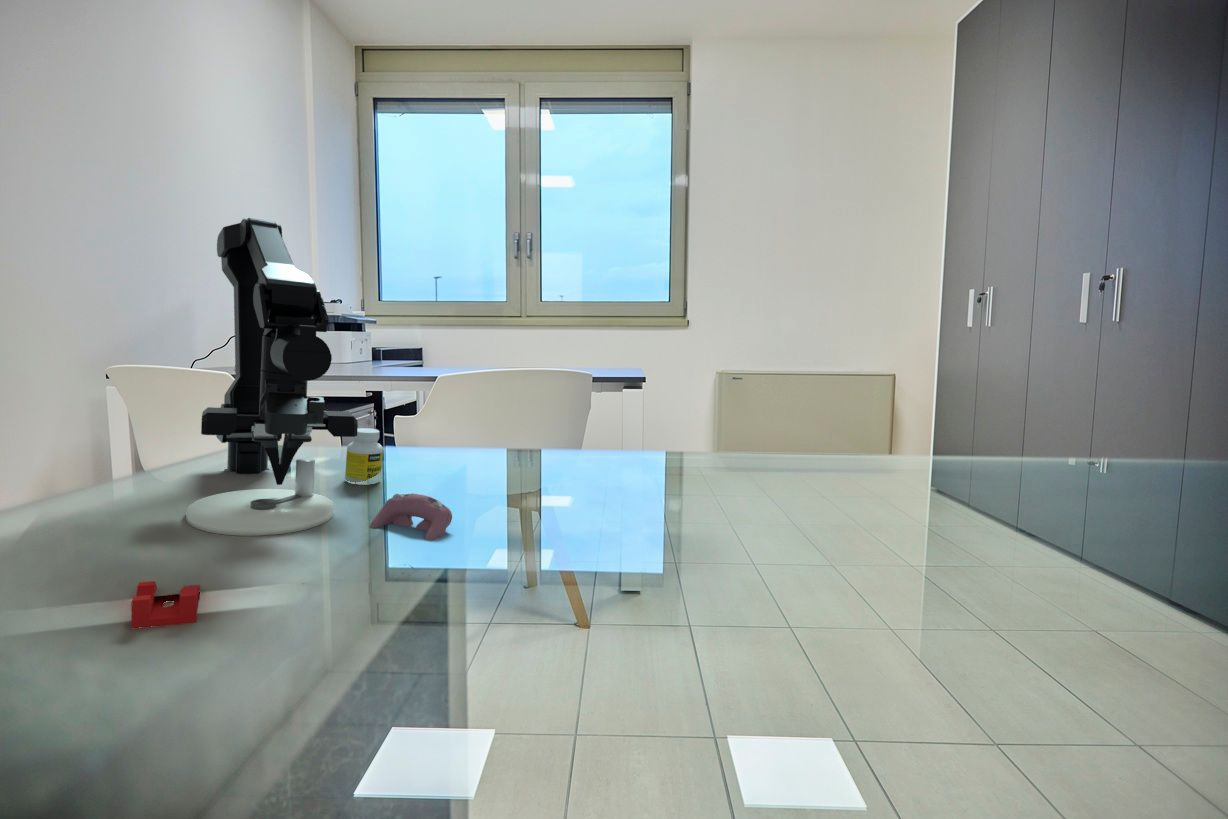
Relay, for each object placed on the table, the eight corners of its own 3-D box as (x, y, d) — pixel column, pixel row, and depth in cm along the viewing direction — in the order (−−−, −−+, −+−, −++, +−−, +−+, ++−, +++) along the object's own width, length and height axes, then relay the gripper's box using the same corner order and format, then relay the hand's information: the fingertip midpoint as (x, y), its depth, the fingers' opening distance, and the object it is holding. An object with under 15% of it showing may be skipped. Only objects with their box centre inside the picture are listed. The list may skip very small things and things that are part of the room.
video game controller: (445, 556, 88) (461, 504, 90) (428, 550, 84) (445, 496, 86) (381, 541, 91) (398, 491, 93) (362, 535, 87) (380, 483, 89)
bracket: (195, 626, 62) (196, 594, 61) (131, 633, 59) (131, 600, 59) (200, 597, 67) (200, 568, 67) (141, 602, 65) (141, 573, 64)
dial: (329, 494, 99) (331, 454, 98) (338, 532, 84) (340, 485, 83) (194, 497, 91) (195, 454, 91) (177, 539, 76) (178, 488, 76)
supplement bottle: (368, 496, 105) (372, 435, 104) (337, 491, 106) (340, 430, 105) (386, 488, 110) (390, 430, 109) (357, 483, 111) (360, 425, 110)
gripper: (202, 374, 79) (197, 502, 81) (368, 382, 89) (360, 497, 90) (204, 364, 89) (200, 480, 90) (354, 373, 98) (347, 477, 100)
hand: (279, 484), depth 93 cm, fingers closed
